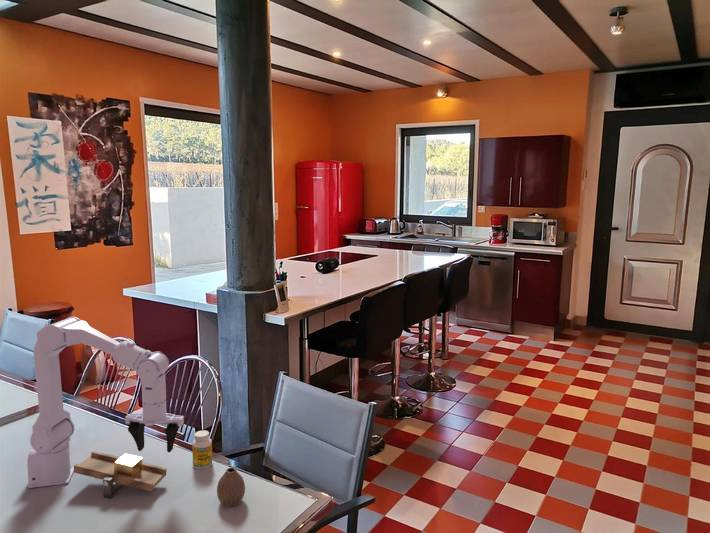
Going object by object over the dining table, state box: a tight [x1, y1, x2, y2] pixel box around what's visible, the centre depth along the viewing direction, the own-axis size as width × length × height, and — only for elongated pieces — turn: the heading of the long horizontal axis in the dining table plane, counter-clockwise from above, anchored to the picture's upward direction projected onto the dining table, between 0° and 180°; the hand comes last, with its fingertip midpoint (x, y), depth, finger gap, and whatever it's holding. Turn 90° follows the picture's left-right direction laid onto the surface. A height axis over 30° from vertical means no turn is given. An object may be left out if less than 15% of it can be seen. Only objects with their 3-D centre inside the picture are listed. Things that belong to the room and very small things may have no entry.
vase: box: [216, 467, 246, 508], centre depth 129 cm, size 7×7×9 cm
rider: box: [114, 452, 143, 477], centre depth 134 cm, size 5×5×4 cm
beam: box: [73, 450, 168, 492], centre depth 135 cm, size 22×8×2 cm, turn 81°
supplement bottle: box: [191, 429, 213, 470], centre depth 146 cm, size 5×5×10 cm
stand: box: [102, 477, 126, 499], centre depth 135 cm, size 2×12×5 cm, turn 171°
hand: (155, 449), depth 134 cm, fingers open, 7 cm apart
